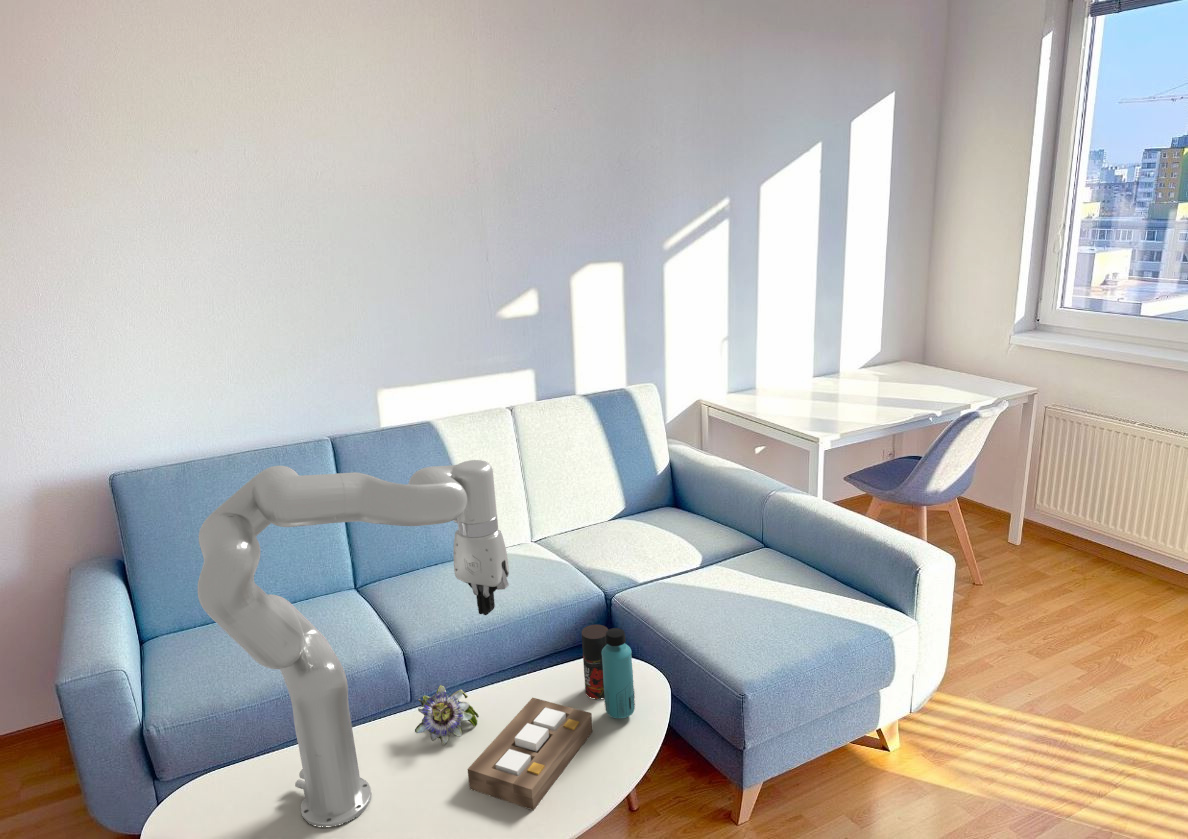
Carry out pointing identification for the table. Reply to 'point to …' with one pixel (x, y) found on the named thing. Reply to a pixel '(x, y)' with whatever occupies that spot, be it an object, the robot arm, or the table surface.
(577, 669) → the table surface
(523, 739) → the key middle
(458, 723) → the passion flower
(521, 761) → the key left
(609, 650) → the beverage bottle
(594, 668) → the deodorant
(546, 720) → the key right
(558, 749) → the keypad
